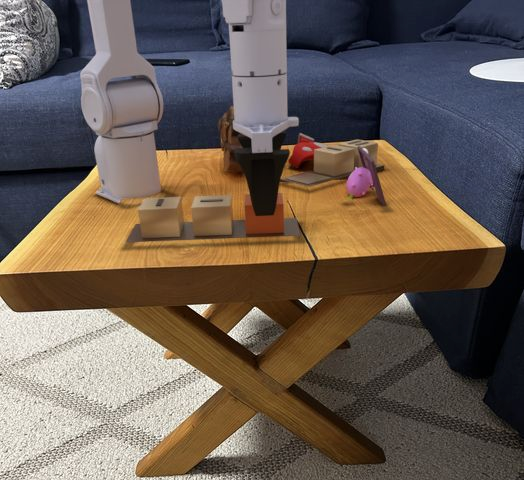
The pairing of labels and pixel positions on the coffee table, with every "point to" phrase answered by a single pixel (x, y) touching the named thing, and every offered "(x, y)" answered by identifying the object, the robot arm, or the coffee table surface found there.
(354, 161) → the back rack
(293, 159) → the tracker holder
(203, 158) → the coffee table surface
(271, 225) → the terracotta cube
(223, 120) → the wooden carving
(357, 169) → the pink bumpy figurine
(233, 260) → the coffee table surface
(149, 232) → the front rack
